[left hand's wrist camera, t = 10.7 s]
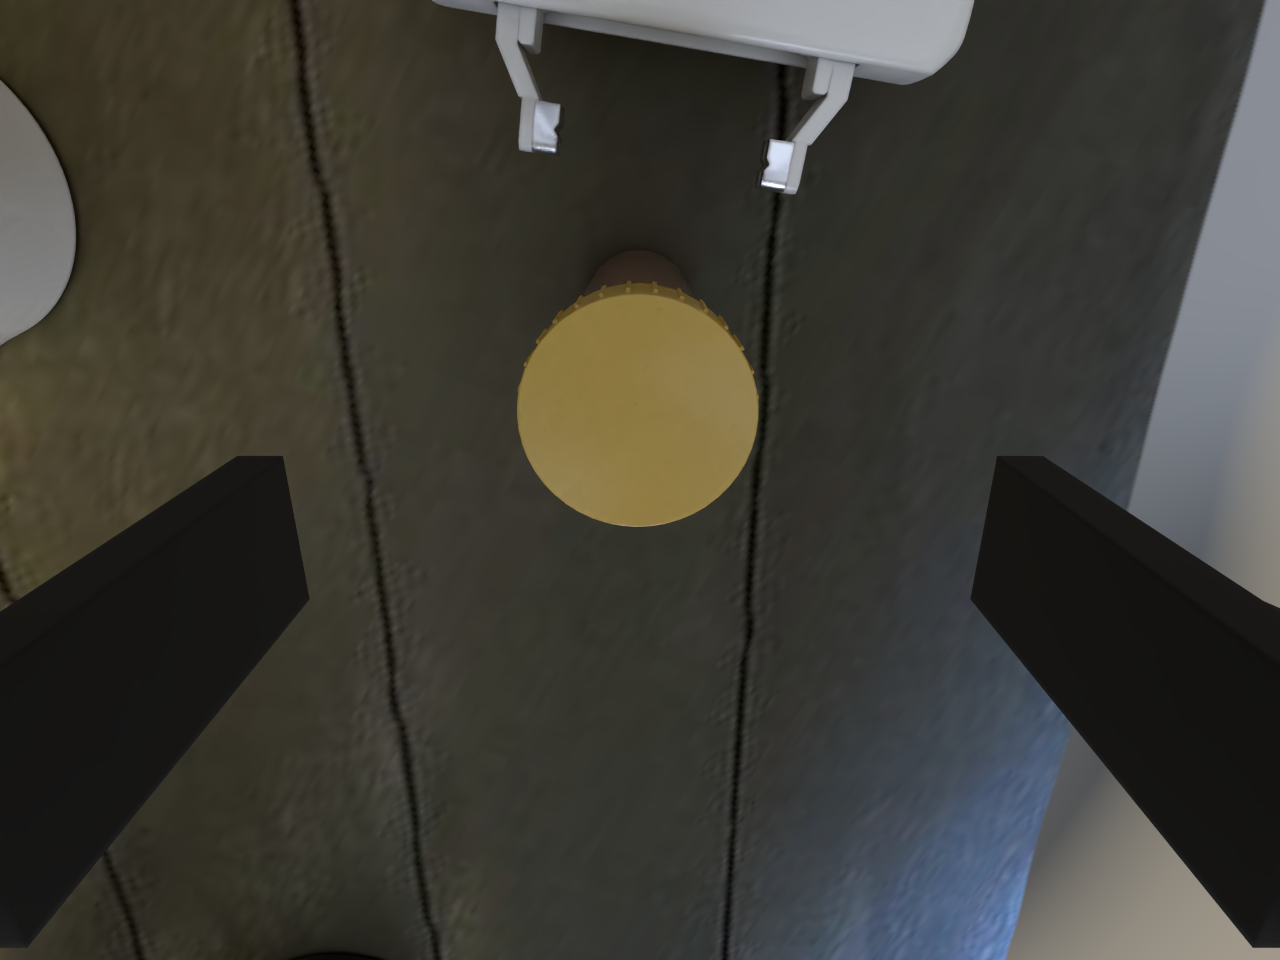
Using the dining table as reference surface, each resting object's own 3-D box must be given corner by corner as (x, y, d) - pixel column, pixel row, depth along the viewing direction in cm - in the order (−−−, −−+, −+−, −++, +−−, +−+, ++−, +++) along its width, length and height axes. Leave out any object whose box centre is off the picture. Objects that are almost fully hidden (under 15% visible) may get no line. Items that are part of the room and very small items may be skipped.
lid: (495, 448, 22) (479, 476, 19) (575, 240, 19) (567, 246, 17) (691, 527, 22) (696, 562, 20) (788, 337, 20) (805, 354, 18)
